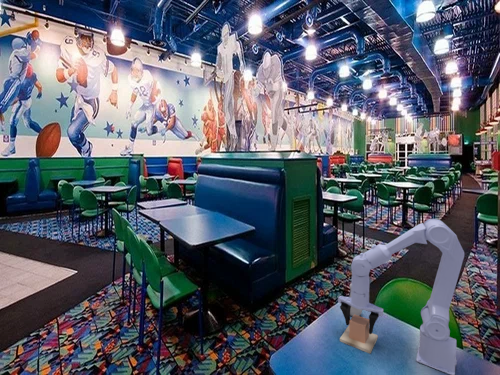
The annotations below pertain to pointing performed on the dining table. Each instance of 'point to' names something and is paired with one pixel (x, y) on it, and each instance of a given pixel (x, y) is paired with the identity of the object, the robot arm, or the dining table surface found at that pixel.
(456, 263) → the robot arm
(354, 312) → the salt shaker
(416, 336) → the dining table surface
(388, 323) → the dining table surface
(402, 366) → the dining table surface
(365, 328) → the orange tan block
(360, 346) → the birch board
